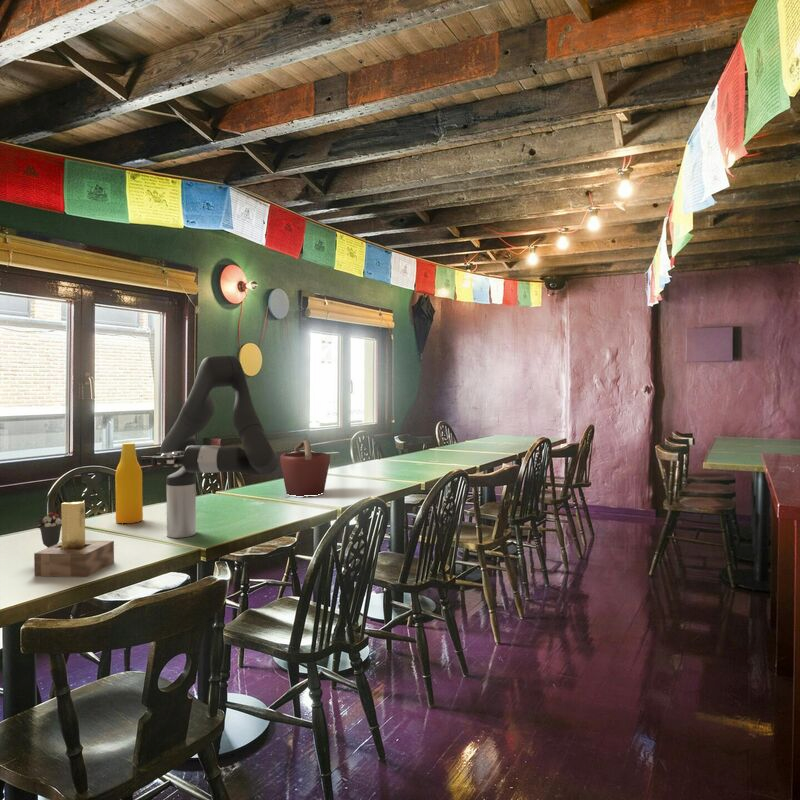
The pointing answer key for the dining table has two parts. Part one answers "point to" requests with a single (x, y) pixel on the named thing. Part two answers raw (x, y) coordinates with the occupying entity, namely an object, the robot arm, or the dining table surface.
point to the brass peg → (73, 525)
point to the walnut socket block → (74, 559)
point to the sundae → (50, 529)
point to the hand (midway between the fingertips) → (147, 458)
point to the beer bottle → (128, 487)
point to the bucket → (304, 470)
